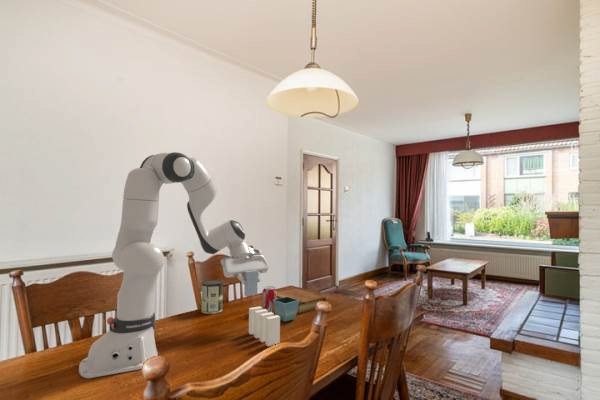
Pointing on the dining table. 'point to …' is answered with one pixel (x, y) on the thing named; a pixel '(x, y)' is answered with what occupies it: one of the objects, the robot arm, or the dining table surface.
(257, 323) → the tile
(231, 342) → the dining table surface
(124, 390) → the dining table surface
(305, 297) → the diary
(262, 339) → the tile
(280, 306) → the flower pot
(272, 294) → the soda can
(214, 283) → the coffee can
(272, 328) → the tile
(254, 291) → the tile
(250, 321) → the tile
